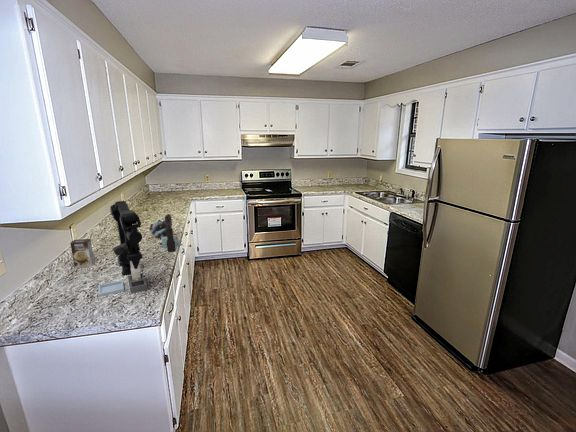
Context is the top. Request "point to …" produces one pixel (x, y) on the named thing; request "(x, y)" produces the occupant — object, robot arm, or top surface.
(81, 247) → the coffee box
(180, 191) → the top surface
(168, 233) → the dark tall piece
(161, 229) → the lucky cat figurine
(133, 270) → the plug
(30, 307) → the top surface
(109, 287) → the tray
